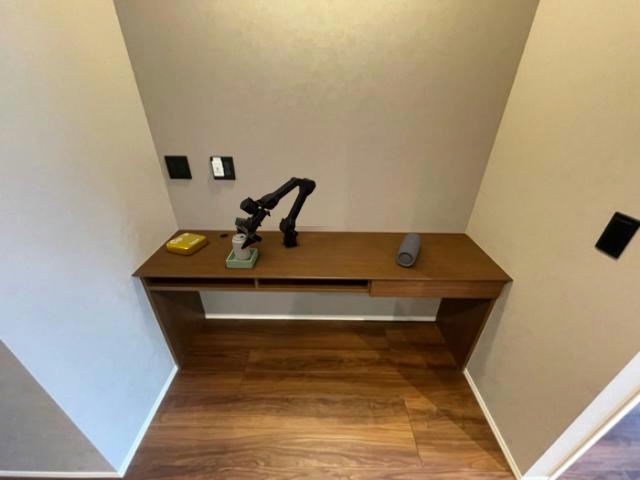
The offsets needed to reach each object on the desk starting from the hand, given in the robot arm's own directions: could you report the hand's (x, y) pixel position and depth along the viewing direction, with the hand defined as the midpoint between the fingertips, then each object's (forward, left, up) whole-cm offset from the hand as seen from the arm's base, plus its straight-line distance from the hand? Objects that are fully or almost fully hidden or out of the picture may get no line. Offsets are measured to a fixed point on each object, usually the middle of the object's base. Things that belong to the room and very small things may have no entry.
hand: (238, 245), depth 127 cm
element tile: (+22, -28, -9) cm, 37 cm away
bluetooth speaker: (-78, +36, -9) cm, 87 cm away
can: (-1, 0, -7) cm, 7 cm away
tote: (-1, 0, -9) cm, 9 cm away
